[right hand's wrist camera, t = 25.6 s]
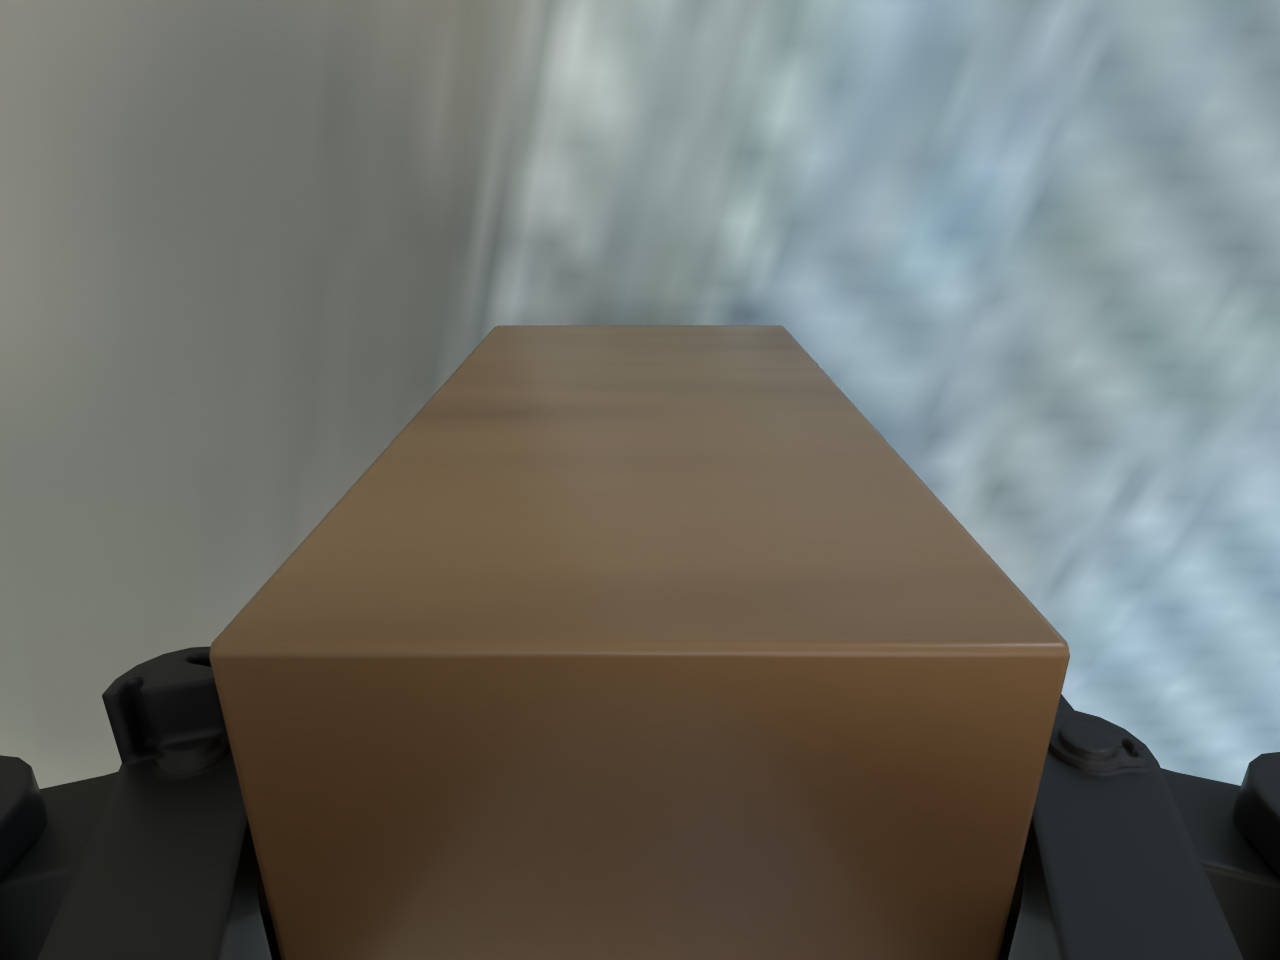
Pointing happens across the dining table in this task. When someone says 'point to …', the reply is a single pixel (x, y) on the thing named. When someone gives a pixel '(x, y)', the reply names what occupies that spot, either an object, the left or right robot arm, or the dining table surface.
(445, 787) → the block
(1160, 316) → the dining table surface
